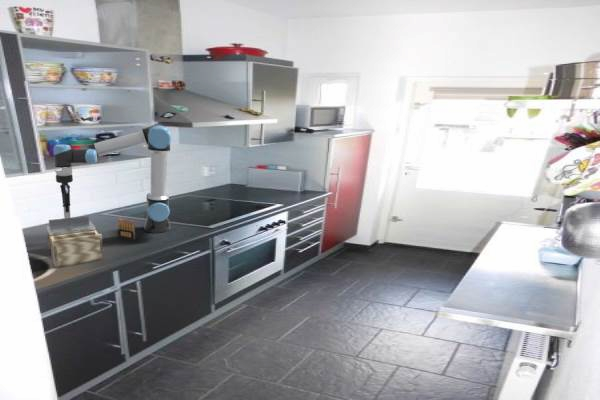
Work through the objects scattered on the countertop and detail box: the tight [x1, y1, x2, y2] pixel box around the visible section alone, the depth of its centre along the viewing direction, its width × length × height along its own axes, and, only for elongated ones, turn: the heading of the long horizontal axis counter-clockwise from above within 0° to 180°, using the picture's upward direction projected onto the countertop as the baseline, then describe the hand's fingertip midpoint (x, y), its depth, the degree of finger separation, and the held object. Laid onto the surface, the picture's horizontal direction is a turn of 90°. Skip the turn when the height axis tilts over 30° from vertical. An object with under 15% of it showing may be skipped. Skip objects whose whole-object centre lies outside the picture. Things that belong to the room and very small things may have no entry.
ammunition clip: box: [117, 217, 137, 241], centre depth 226 cm, size 11×2×12 cm, turn 74°
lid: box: [46, 215, 97, 236], centre depth 204 cm, size 20×12×4 cm, turn 127°
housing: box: [46, 229, 104, 269], centre depth 200 cm, size 20×28×13 cm
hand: (67, 217), depth 213 cm, fingers closed
